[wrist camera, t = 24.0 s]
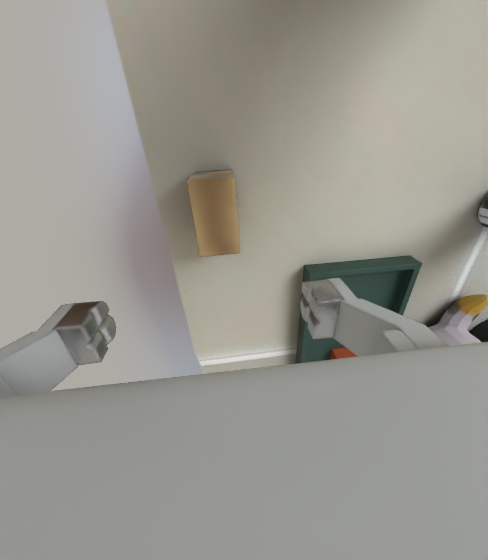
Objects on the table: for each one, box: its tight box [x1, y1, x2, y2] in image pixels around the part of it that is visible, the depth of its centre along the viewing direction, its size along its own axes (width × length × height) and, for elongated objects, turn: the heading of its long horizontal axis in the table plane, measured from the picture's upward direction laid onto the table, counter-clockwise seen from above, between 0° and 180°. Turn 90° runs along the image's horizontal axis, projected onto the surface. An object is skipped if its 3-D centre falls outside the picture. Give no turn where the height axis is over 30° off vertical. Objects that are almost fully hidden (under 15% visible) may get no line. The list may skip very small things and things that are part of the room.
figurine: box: [428, 295, 488, 346], centre depth 35 cm, size 12×17×15 cm
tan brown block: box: [187, 169, 240, 257], centre depth 24 cm, size 4×7×6 cm, turn 4°
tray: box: [296, 256, 422, 364], centre depth 37 cm, size 22×15×2 cm
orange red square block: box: [330, 348, 358, 360], centre depth 40 cm, size 4×4×2 cm
